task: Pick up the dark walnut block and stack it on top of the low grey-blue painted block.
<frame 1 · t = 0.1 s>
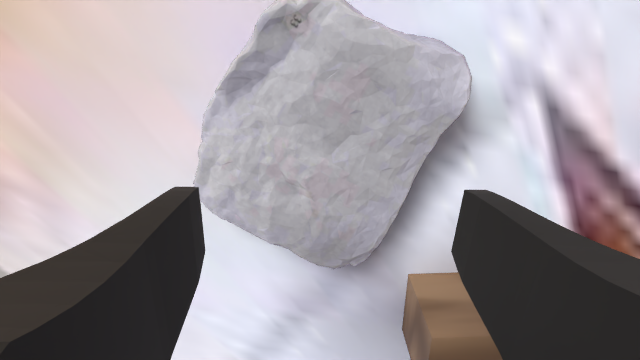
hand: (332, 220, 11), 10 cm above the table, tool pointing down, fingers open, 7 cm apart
walnut block: (440, 300, 26), on the table
stone block: (314, 119, 21), on the table
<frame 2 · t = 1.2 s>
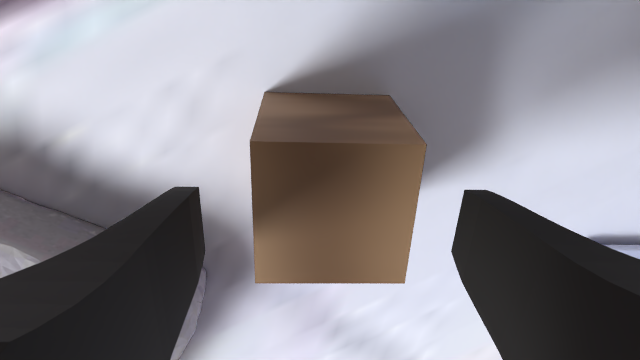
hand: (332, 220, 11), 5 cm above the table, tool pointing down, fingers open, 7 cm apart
walnut block: (324, 151, 16), on the table
stone block: (61, 293, 19), on the table
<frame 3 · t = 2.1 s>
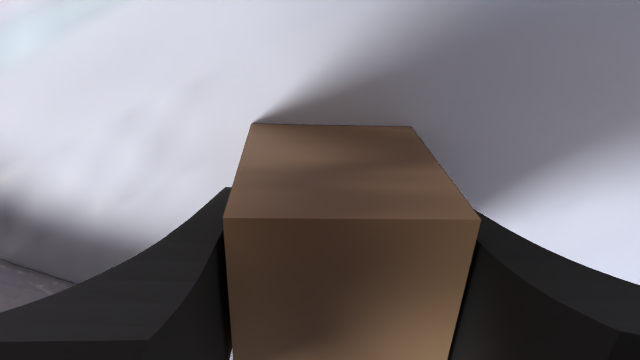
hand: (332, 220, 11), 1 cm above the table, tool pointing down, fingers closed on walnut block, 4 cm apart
walnut block: (328, 195, 13), on the table, touching gripper
stone block: (10, 351, 16), on the table
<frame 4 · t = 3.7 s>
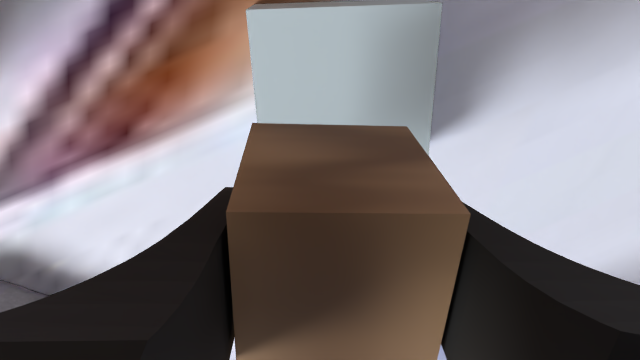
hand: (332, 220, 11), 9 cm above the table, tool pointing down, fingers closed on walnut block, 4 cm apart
walnut block: (326, 193, 13), point 8 cm above the table, touching gripper
grey-blue block: (337, 82, 19), on the table
stone block: (54, 347, 26), on the table
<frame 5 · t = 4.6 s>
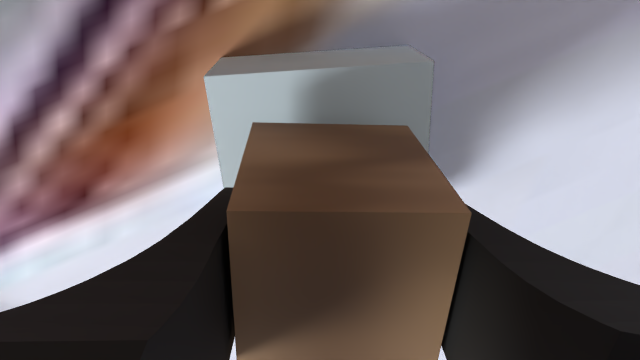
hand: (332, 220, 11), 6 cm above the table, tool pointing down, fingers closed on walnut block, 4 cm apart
walnut block: (327, 192, 13), point 4 cm above the table, touching gripper
grey-blue block: (320, 136, 17), on the table
when the fingers open (6 cm above the table, at t = 5.2 s): walnut block stays where it is, resting on grey-blue block.
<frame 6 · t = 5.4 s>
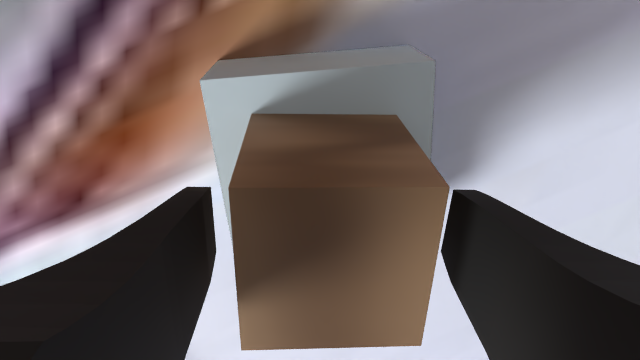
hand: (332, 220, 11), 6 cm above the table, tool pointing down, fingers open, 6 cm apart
walnut block: (322, 179, 14), point 3 cm above the table, touching grey-blue block
grey-blue block: (320, 139, 17), on the table, touching walnut block
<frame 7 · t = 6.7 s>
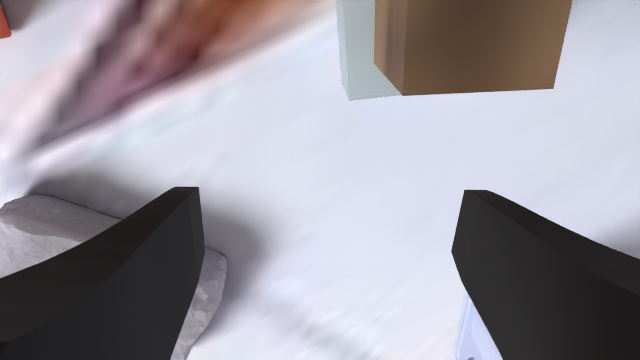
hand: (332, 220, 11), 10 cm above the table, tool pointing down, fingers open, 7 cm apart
walnut block: (434, 0, 16), point 3 cm above the table
stone block: (118, 279, 25), on the table
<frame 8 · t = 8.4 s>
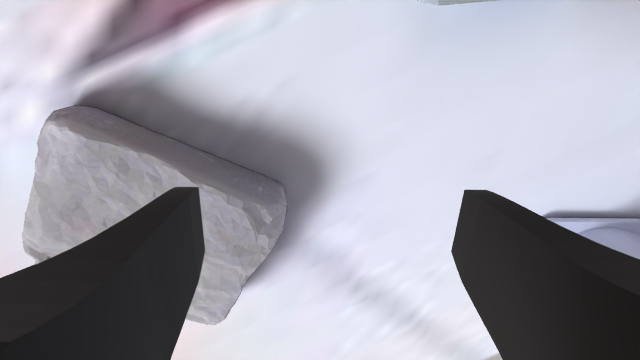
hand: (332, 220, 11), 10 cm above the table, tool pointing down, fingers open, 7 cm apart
stone block: (165, 212, 23), on the table
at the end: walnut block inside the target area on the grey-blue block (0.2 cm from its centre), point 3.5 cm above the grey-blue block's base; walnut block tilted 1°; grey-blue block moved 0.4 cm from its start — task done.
